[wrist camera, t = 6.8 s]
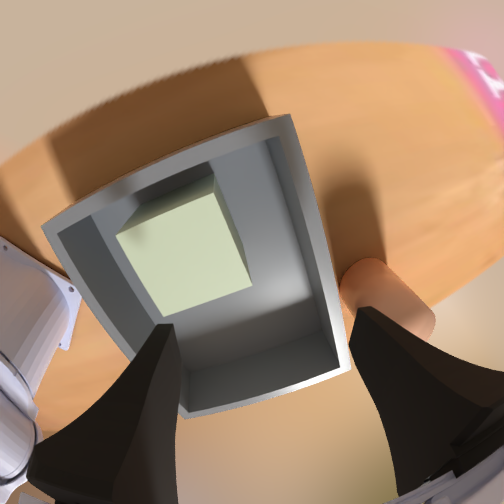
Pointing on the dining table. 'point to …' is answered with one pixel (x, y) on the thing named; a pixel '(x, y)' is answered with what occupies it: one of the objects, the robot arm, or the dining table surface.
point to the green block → (186, 247)
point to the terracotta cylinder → (385, 296)
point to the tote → (232, 305)
